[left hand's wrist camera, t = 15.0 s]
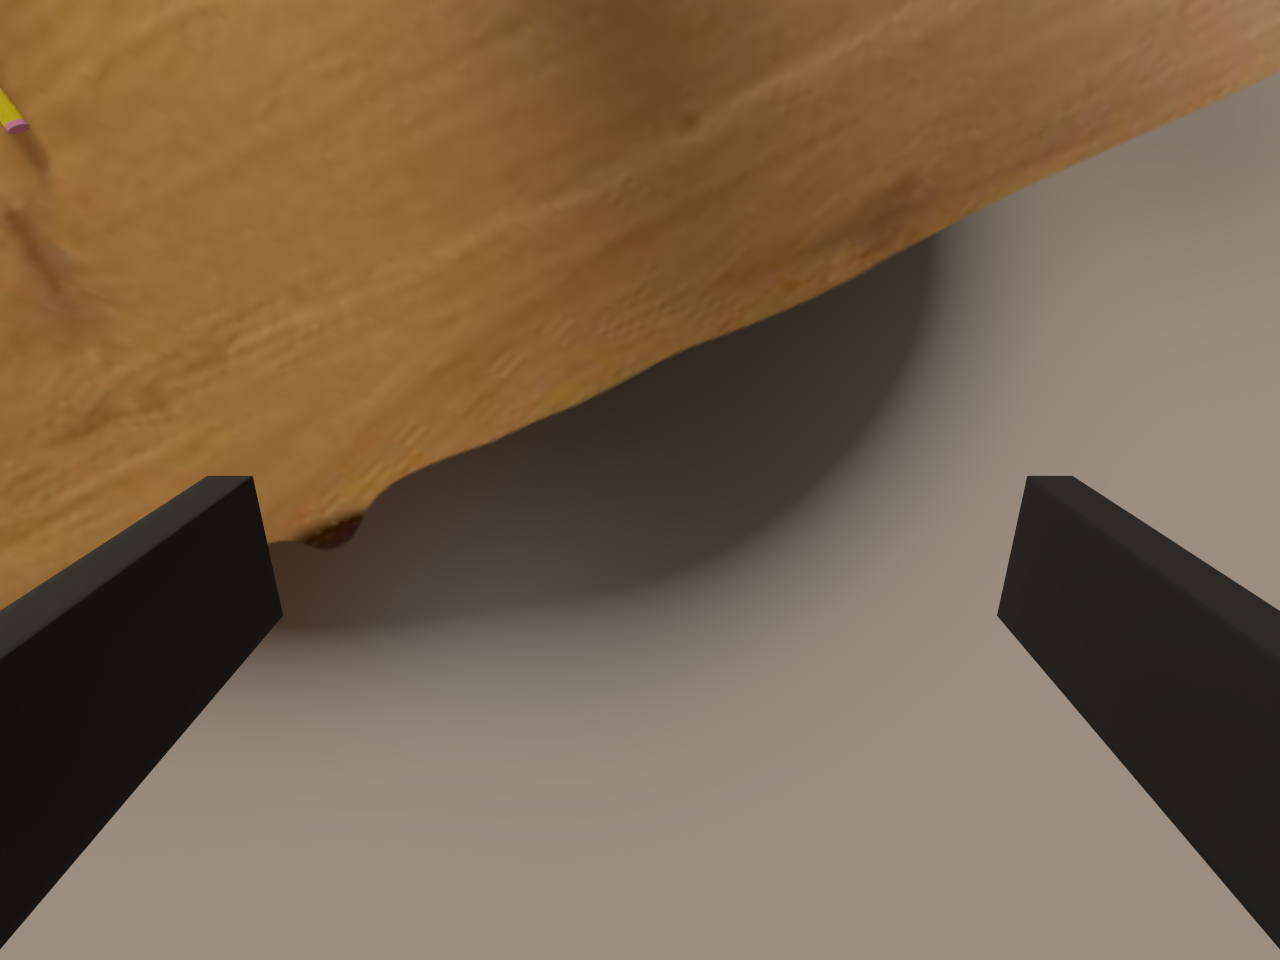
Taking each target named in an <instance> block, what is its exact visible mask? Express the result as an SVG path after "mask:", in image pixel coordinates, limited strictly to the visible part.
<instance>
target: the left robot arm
mask: <svg viewBox="0 0 1280 960" xmlns="http://www.w3.org/2000/svg"><path fill="white" fill-rule="evenodd" d="M282 616H283V614H282V609H281V605H280V600H279V595H278V591H277V586H276V582H275V577H274V572H273V568H272V563H271V559H270V554H269V549H268V545H267V540H266V535H265V531H264V526H263V522H262V517H261V512H260V508H259V503H258V498H257V494H256V489H255V485H254V480H253V476H207V477H205V478H204V479H202V480H201V481H199V482H197V483H196V484H194V485H193V486H191V487H190V488H188V489H187V490H185V491H184V492H182V493H181V494H179V495H178V496H176V497H174V498H173V499H171V500H170V501H168V502H167V503H165V504H164V505H162V506H161V507H159V508H158V509H156V510H154V511H153V512H151V513H150V514H148V515H147V516H145V517H144V518H142V519H141V520H139V521H138V522H136V523H135V524H133V525H131V526H130V527H128V528H127V529H125V530H124V531H122V532H121V533H119V534H118V535H116V536H115V537H113V538H112V539H110V540H108V541H107V542H105V543H104V544H102V545H101V546H99V547H98V548H96V549H95V550H93V551H92V552H90V553H88V554H87V555H85V556H84V557H82V558H81V559H79V560H78V561H76V562H75V563H73V564H72V565H70V566H69V567H67V568H65V569H64V570H62V571H61V572H59V573H58V574H56V575H55V576H53V577H52V578H50V579H49V580H47V581H45V582H44V583H42V584H41V585H39V586H38V587H36V588H35V589H33V590H32V591H30V592H29V593H27V594H26V595H24V596H22V597H21V598H19V599H18V600H16V601H15V602H13V603H12V604H10V605H9V606H7V607H6V608H4V609H3V610H1V611H0V949H1V948H2V946H3V945H4V944H5V943H6V942H7V941H8V939H9V938H10V937H11V936H12V935H13V933H14V932H15V931H16V930H17V929H18V928H19V926H20V925H21V924H22V923H23V922H24V921H25V919H26V918H27V917H28V916H29V915H30V913H31V912H32V911H33V910H34V909H35V908H36V906H37V905H38V904H39V903H40V902H41V900H42V899H43V898H44V897H45V896H46V894H47V893H48V892H49V891H50V890H51V889H52V887H53V886H54V885H55V884H56V883H57V882H58V880H59V879H60V878H61V877H62V876H63V874H64V873H65V872H66V871H67V870H68V869H69V867H70V866H71V865H72V864H73V863H74V862H75V860H76V859H77V858H78V857H79V856H80V854H81V853H82V852H83V851H84V850H85V848H86V847H87V846H88V845H89V844H90V843H91V841H92V840H93V839H94V838H95V837H96V836H97V834H98V833H99V832H100V831H101V830H102V828H103V827H104V826H105V825H106V824H107V823H108V821H109V820H110V819H111V818H112V817H113V815H114V814H115V813H116V812H117V811H118V810H119V808H120V807H121V806H122V805H123V804H124V803H125V801H126V800H127V799H128V798H129V797H130V795H131V794H132V793H133V792H134V791H135V789H136V788H137V787H138V786H139V785H140V784H141V782H142V781H143V780H144V779H145V778H146V776H147V775H148V774H149V773H150V772H151V771H152V769H153V768H154V767H155V766H156V765H157V763H158V762H159V761H160V760H161V759H162V758H163V756H164V755H165V754H166V753H167V752H168V751H169V749H170V748H171V747H172V746H173V745H174V744H175V742H176V741H177V740H178V739H179V738H180V736H181V735H182V734H183V733H184V732H185V731H186V729H187V728H188V727H189V726H190V725H191V723H192V722H193V721H194V720H195V719H196V718H197V716H198V715H199V714H200V713H201V712H202V710H203V709H204V708H205V707H206V706H207V705H208V703H209V702H210V701H211V700H212V699H213V697H214V696H215V695H216V694H217V693H218V692H219V690H220V689H221V688H222V687H223V686H224V685H225V683H226V682H227V681H228V680H229V679H230V677H231V676H232V675H233V674H234V673H235V672H236V670H237V669H238V668H239V667H240V666H241V664H242V663H243V662H244V661H245V660H246V659H247V657H248V656H249V655H250V654H251V653H252V651H253V650H254V649H255V648H256V647H257V646H258V644H259V643H260V642H261V641H262V640H263V638H264V637H265V636H266V635H267V634H268V633H269V631H270V630H271V629H272V628H273V627H274V625H275V624H276V623H277V622H278V621H279V620H280V618H281V617H282ZM997 616H998V617H999V618H1000V620H1001V621H1002V622H1003V623H1004V624H1005V626H1006V627H1007V628H1008V629H1009V630H1010V631H1011V633H1012V634H1013V635H1014V636H1015V637H1016V638H1017V640H1018V641H1019V642H1020V643H1021V644H1022V646H1023V647H1024V648H1025V649H1026V650H1027V651H1028V653H1029V654H1030V655H1031V656H1032V657H1033V659H1034V660H1035V661H1036V662H1037V663H1038V664H1039V666H1040V667H1041V668H1042V669H1043V670H1044V672H1045V673H1046V674H1047V675H1048V676H1049V677H1050V679H1051V680H1052V681H1053V682H1054V683H1055V684H1056V686H1057V687H1058V688H1059V689H1060V690H1061V692H1062V693H1063V694H1064V695H1065V696H1066V697H1067V699H1068V700H1069V701H1070V702H1071V703H1072V705H1073V706H1074V707H1075V708H1076V709H1077V710H1078V712H1079V713H1080V714H1081V715H1082V716H1083V717H1084V719H1085V720H1086V721H1087V722H1088V723H1089V725H1090V726H1091V727H1092V728H1093V729H1094V730H1095V732H1096V733H1097V734H1098V735H1099V736H1100V738H1101V739H1102V740H1103V741H1104V742H1105V744H1106V745H1107V746H1108V747H1109V748H1110V749H1111V751H1112V752H1113V753H1114V754H1115V755H1116V756H1117V758H1118V759H1119V760H1120V761H1121V762H1122V764H1123V765H1124V766H1125V767H1126V768H1127V769H1128V771H1129V772H1130V773H1131V774H1132V775H1133V777H1134V778H1135V779H1136V780H1137V781H1138V782H1139V784H1140V785H1141V786H1142V787H1143V788H1144V790H1145V791H1146V792H1147V793H1148V794H1149V795H1150V797H1151V798H1152V799H1153V800H1154V801H1155V802H1156V804H1157V805H1158V806H1159V807H1160V808H1161V810H1162V811H1163V812H1164V813H1165V814H1166V815H1167V817H1168V818H1169V819H1170V820H1171V821H1172V823H1173V824H1174V825H1175V826H1176V827H1177V828H1178V830H1179V831H1180V832H1181V833H1182V834H1183V836H1184V837H1185V838H1186V839H1187V840H1188V841H1189V843H1190V844H1191V845H1192V846H1193V847H1194V849H1195V850H1196V851H1197V852H1198V853H1199V854H1200V856H1201V857H1202V858H1203V859H1204V860H1205V862H1206V863H1207V864H1208V865H1209V866H1210V867H1211V869H1212V870H1213V871H1214V872H1215V873H1216V874H1217V876H1218V877H1219V878H1220V879H1221V880H1222V882H1223V883H1224V884H1225V885H1226V886H1227V887H1228V889H1229V890H1230V891H1231V892H1232V893H1233V895H1234V896H1235V897H1236V898H1237V899H1238V900H1239V902H1240V903H1241V904H1242V905H1243V906H1244V908H1245V909H1246V910H1247V911H1248V912H1249V913H1250V915H1251V916H1252V917H1253V918H1254V919H1255V920H1256V922H1257V923H1258V924H1259V925H1260V926H1261V928H1262V929H1263V930H1264V931H1265V932H1266V933H1267V935H1268V936H1269V937H1270V938H1271V939H1272V941H1273V942H1274V943H1275V944H1276V945H1277V946H1278V948H1279V949H1280V611H1279V610H1277V609H1276V608H1274V607H1273V606H1271V605H1270V604H1268V603H1267V602H1265V601H1264V600H1262V599H1260V598H1259V597H1258V596H1256V595H1254V594H1253V593H1251V592H1250V591H1248V590H1247V589H1245V588H1244V587H1242V586H1241V585H1239V584H1238V583H1236V582H1235V581H1233V580H1231V579H1230V578H1228V577H1227V576H1225V575H1224V574H1222V573H1221V572H1219V571H1218V570H1216V569H1215V568H1213V567H1211V566H1210V565H1208V564H1207V563H1205V562H1204V561H1202V560H1201V559H1199V558H1198V557H1196V556H1195V555H1193V554H1192V553H1190V552H1188V551H1187V550H1185V549H1184V548H1182V547H1181V546H1179V545H1178V544H1176V543H1175V542H1173V541H1172V540H1170V539H1168V538H1167V537H1165V536H1164V535H1162V534H1161V533H1159V532H1158V531H1156V530H1155V529H1153V528H1152V527H1150V526H1148V525H1147V524H1145V523H1144V522H1142V521H1141V520H1139V519H1138V518H1136V517H1135V516H1133V515H1132V514H1130V513H1129V512H1127V511H1126V510H1124V509H1122V508H1121V507H1119V506H1118V505H1116V504H1115V503H1113V502H1112V501H1110V500H1109V499H1107V498H1106V497H1104V496H1102V495H1101V494H1099V493H1098V492H1096V491H1095V490H1093V489H1092V488H1090V487H1089V486H1087V485H1086V484H1084V483H1083V482H1081V481H1079V480H1078V479H1076V478H1075V477H1073V476H1027V480H1026V485H1025V489H1024V494H1023V499H1022V503H1021V508H1020V512H1019V517H1018V522H1017V526H1016V531H1015V535H1014V540H1013V545H1012V549H1011V554H1010V558H1009V563H1008V568H1007V572H1006V577H1005V581H1004V586H1003V591H1002V595H1001V600H1000V605H999V609H998V614H997Z"/></svg>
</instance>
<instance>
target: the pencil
mask: <svg viewBox="0 0 1280 960" xmlns="http://www.w3.org/2000/svg"><path fill="white" fill-rule="evenodd" d="M0 122H1V123H2V124H3V126H4V127H5V128H6V130H7V131H8V132H9V133H11V134H17V133H21V132H23V131H25V130H27V129H28V128H29V125H28V123H27V122H26V120H25V119H24V118H23V117H22V115H21V114H20V113H19V111H18V110H17V109H16V107H15V106H14V105H13V103H12V102H11V101H10V99H9V98H8V97H7V95H6V94H5V93H4V91H3V90H2V89H1V88H0Z"/></svg>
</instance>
